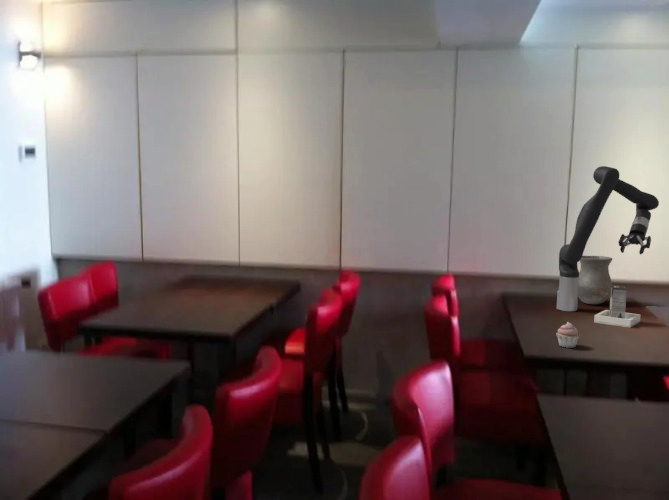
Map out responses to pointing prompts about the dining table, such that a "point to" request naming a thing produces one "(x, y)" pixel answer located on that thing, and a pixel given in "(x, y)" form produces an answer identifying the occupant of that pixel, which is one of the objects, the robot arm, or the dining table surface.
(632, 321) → the dish
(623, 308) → the coffee box
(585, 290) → the vase
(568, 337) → the cupcake
